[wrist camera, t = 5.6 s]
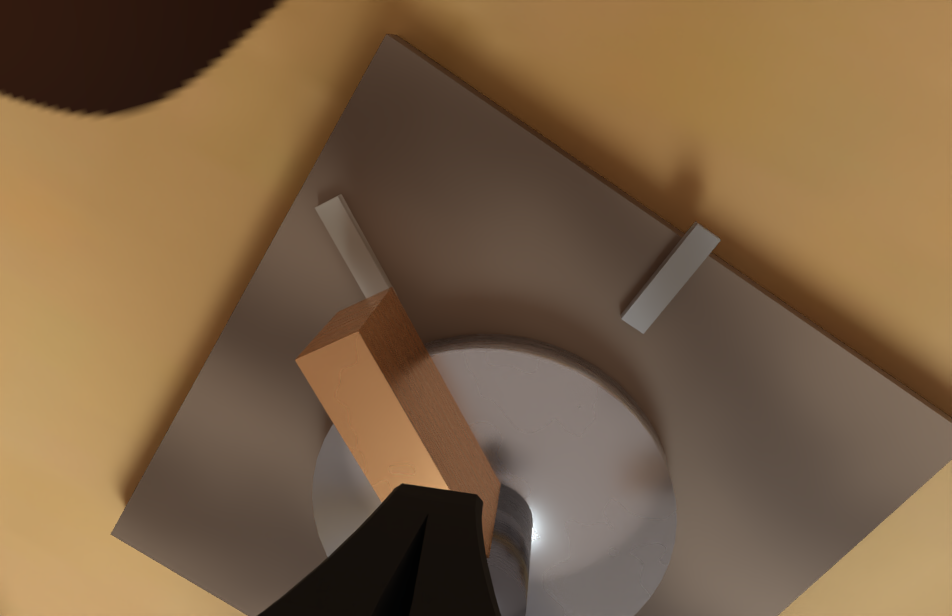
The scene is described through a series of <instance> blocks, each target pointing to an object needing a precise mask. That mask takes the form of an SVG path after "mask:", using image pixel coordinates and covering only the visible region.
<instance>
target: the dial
mask: <svg viewBox="0 0 952 616" xmlns="http://www.w3.org/2000/svg"><path fill="white" fill-rule="evenodd" d="M295 361H296V363H297V365H298V366H299V368H300V369H301V371H302V373H303V374H304V376H305V378H306V379H307V381H308V383H309V384H310V386H311V387H312V389H313V391H314V392H315V394H316V396H317V397H318V399H319V401H320V402H321V404H322V405H323V407H324V409H325V410H326V412H327V414H328V415H329V417H330V419H331V420H332V422H333V425H332V427H331V428H330V430H329V432H328V434H327V435H326V437H325V439H324V441H323V444H322V447H321V449H320V452H319V455H318V458H317V462H316V467H315V472H314V477H313V493H312V500H313V509H314V518H315V522H316V526H317V530H318V534H319V537H320V540H321V542H322V545H323V547H324V550H325V552H326V555H327V557H329V556H330V555H331V554H332V553H333V552H334V551H335V550H336V549H337V548H338V547H339V546H340V545H341V544H342V543H343V542H344V541H345V540H346V539H347V538H348V537H349V536H350V535H351V534H353V533H354V532H355V531H356V530H357V529H358V528H359V527H360V525H361V524H362V523H363V522H364V521H365V520H366V519H367V518H368V517H369V516H370V515H371V514H372V513H373V512H374V511H375V510H376V509H377V508H378V507H379V505H380V504H381V503H382V502H383V501H384V500H385V499H386V498H387V497H388V495H389V494H390V493H391V492H392V491H393V490H394V488H396V487H397V486H399V485H400V484H402V483H404V484H411V485H417V486H424V487H431V488H438V489H444V490H451V491H458V492H465V493H471V494H477V495H478V496H479V497H480V498H481V500H482V501H483V511H482V529H483V538H484V545H485V552H486V557H487V563H488V567H489V571H490V575H491V580H492V584H493V588H494V592H495V596H496V599H497V603H498V606H499V610H500V613H501V616H634V615H635V614H636V613H637V612H638V611H639V610H640V609H641V608H642V607H643V605H644V604H645V603H646V602H647V601H648V600H649V599H650V597H651V596H652V594H653V593H654V591H655V590H656V588H657V587H658V585H659V583H660V582H661V580H662V578H663V576H664V574H665V571H666V569H667V567H668V565H669V562H670V559H671V555H672V551H673V548H674V544H675V536H676V526H677V514H676V500H675V495H674V490H673V486H672V481H671V477H670V473H669V469H668V464H667V460H666V456H665V453H664V450H663V448H662V445H661V443H660V440H659V437H658V435H657V433H656V431H655V430H654V428H653V426H652V424H651V422H650V421H649V419H648V417H647V415H646V414H645V413H644V412H643V410H642V409H641V408H640V406H639V405H638V404H637V402H636V401H635V400H634V399H633V397H632V396H631V395H630V394H629V393H628V392H627V391H626V390H625V389H624V388H623V387H621V386H620V385H619V384H618V383H617V382H616V381H615V380H614V379H613V378H611V377H610V376H609V375H607V374H606V373H605V372H603V371H602V370H601V369H599V368H598V367H597V366H595V365H593V364H591V363H590V362H588V361H586V360H584V359H583V358H581V357H579V356H577V355H576V354H573V353H571V352H568V351H566V350H564V349H561V348H559V347H557V346H554V345H551V344H548V343H544V342H541V341H537V340H534V339H530V338H524V337H518V336H512V335H505V334H471V335H459V336H453V337H448V338H444V339H439V340H435V341H431V342H429V343H426V344H423V342H422V340H421V338H420V337H419V335H418V333H417V331H416V329H415V328H414V326H413V324H412V322H411V320H410V319H409V317H408V315H407V313H406V311H405V310H404V308H403V306H402V304H401V302H400V300H399V299H398V297H397V295H396V293H395V291H394V290H393V288H392V287H390V288H388V289H386V290H384V291H382V292H379V293H377V294H375V295H373V296H371V297H369V298H366V299H364V300H362V301H360V302H358V303H356V304H353V305H351V306H349V307H347V308H345V309H343V310H340V311H338V312H337V313H336V314H335V315H334V316H333V318H332V319H331V320H330V321H329V322H328V323H327V324H326V325H325V327H324V328H323V329H322V330H321V331H320V332H319V333H318V334H317V335H316V337H315V338H314V339H313V340H312V341H311V342H310V343H309V344H308V346H307V347H306V348H305V349H304V350H303V351H302V352H301V353H300V355H299V356H298V357H297V358H296V359H295Z"/></svg>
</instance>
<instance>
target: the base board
mask: <svg viewBox="0 0 952 616" xmlns="http://www.w3.org/2000/svg"><path fill="white" fill-rule="evenodd" d="M720 241H721V240H720V238H719V237H718V236H716V235H715V234H713V233H712V232H710V231H709V230H707V229H706V228H705V227H703V226H702V225H700V224H699V223H697V222H696V221H695V222H694V224H693V225H692V226H691V227H690V229H689V230H688V231H687V232H686V234H684V233H683V232H681V231H680V230H678V229H677V228H676V227H674V226H673V225H671V224H670V223H668V222H667V221H665V220H664V219H662V218H661V217H660V216H658V215H657V214H655V213H654V212H652V211H651V210H649V209H648V208H647V207H645V206H644V205H642V204H641V203H639V202H638V201H636V200H635V199H633V198H632V197H631V196H629V195H628V194H626V193H625V192H623V191H622V190H620V189H619V188H618V187H616V186H615V185H613V184H612V183H610V182H609V181H607V180H606V179H604V178H603V177H602V176H600V175H599V174H597V173H596V172H594V171H593V170H591V169H590V168H589V167H587V166H586V165H584V164H583V163H581V162H580V161H578V160H577V159H575V158H574V157H573V156H571V155H570V154H568V153H567V152H565V151H564V150H562V149H561V148H559V147H558V146H557V145H555V144H554V143H552V142H551V141H549V140H548V139H546V138H545V137H544V136H542V135H541V134H539V133H538V132H536V131H535V130H533V129H532V128H530V127H529V126H528V125H526V124H525V123H523V122H522V121H520V120H519V119H517V118H516V117H515V116H513V115H512V114H510V113H509V112H507V111H506V110H504V109H503V108H501V107H500V106H499V105H497V104H496V103H494V102H493V101H491V100H490V99H488V98H487V97H486V96H484V95H483V94H481V93H480V92H478V91H477V90H475V89H474V88H472V87H471V86H470V85H468V84H467V83H465V82H464V81H462V80H461V79H459V78H458V77H457V76H455V75H454V74H452V73H451V72H449V71H448V70H446V69H445V68H443V67H442V66H441V65H439V64H438V63H436V62H435V61H433V60H432V59H430V58H429V57H428V56H426V55H425V54H423V53H422V52H420V51H419V50H417V49H416V48H414V47H413V46H412V45H410V44H409V43H407V42H406V41H404V40H403V39H401V38H400V37H398V36H397V35H392V34H386V36H385V38H384V39H383V41H382V43H381V45H380V47H379V48H378V50H377V52H376V54H375V56H374V57H373V59H372V61H371V63H370V65H369V67H368V68H367V70H366V72H365V74H364V76H363V77H362V79H361V81H360V83H359V85H358V87H357V88H356V90H355V92H354V94H353V96H352V97H351V99H350V101H349V103H348V105H347V106H346V108H345V110H344V112H343V114H342V116H341V117H340V119H339V121H338V123H337V125H336V126H335V128H334V130H333V132H332V134H331V135H330V137H329V139H328V141H327V143H326V145H325V146H324V148H323V150H322V152H321V154H320V155H319V157H318V159H317V161H316V163H315V164H314V166H313V168H312V170H311V172H310V174H309V175H308V177H307V179H306V181H305V183H304V184H303V186H302V188H301V190H300V192H299V194H298V195H297V197H296V199H295V201H294V203H293V204H292V206H291V208H290V210H289V212H288V213H287V215H286V217H285V219H284V221H283V223H282V224H281V226H280V228H279V230H278V232H277V233H276V235H275V237H274V239H273V241H272V242H271V244H270V246H269V248H268V250H267V252H266V253H265V255H264V257H263V259H262V261H261V262H260V264H259V266H258V268H257V270H256V271H255V273H254V275H253V277H252V279H251V281H250V282H249V284H248V286H247V288H246V290H245V291H244V293H243V295H242V297H241V299H240V301H239V302H238V304H237V306H236V308H235V310H234V311H233V313H232V315H231V317H230V319H229V320H228V322H227V324H226V326H225V328H224V330H223V331H222V333H221V335H220V337H219V339H218V340H217V342H216V344H215V346H214V348H213V349H212V351H211V353H210V355H209V357H208V359H207V360H206V362H205V364H204V366H203V368H202V369H201V371H200V373H199V375H198V377H197V378H196V380H195V382H194V384H193V386H192V388H191V389H190V391H189V393H188V395H187V397H186V398H185V400H184V402H183V404H182V406H181V408H180V409H179V411H178V413H177V415H176V417H175V418H174V420H173V422H172V424H171V426H170V427H169V429H168V431H167V433H166V435H165V437H164V438H163V440H162V442H161V444H160V446H159V447H158V449H157V451H156V453H155V455H154V456H153V458H152V460H151V462H150V464H149V466H148V467H147V469H146V471H145V473H144V475H143V476H142V478H141V480H140V482H139V484H138V485H137V487H136V489H135V491H134V493H133V495H132V496H131V498H130V500H129V502H128V504H127V505H126V507H125V509H124V511H123V513H122V515H121V516H120V518H119V520H118V522H117V524H116V525H115V527H114V529H113V531H112V533H111V535H113V536H114V537H116V538H118V539H119V540H121V541H123V542H124V543H126V544H128V545H129V546H131V547H133V548H135V549H136V550H138V551H140V552H141V553H143V554H145V555H146V556H148V557H150V558H151V559H153V560H155V561H156V562H158V563H160V564H162V565H163V566H165V567H167V568H168V569H170V570H172V571H173V572H175V573H177V574H178V575H180V576H182V577H184V578H185V579H187V580H189V581H190V582H192V583H194V584H195V585H197V586H199V587H200V588H202V589H204V590H206V591H207V592H209V593H211V594H212V595H214V596H216V597H217V598H219V599H221V600H222V601H224V602H226V603H227V604H229V605H231V606H233V607H234V608H236V609H238V610H239V611H241V612H243V613H244V614H246V615H248V616H257V615H258V614H260V613H261V612H262V611H264V610H265V609H266V608H268V607H269V606H270V605H272V604H273V603H274V602H275V601H277V600H278V599H279V598H281V597H282V596H283V595H284V594H286V593H287V592H288V591H289V590H290V589H292V588H293V587H294V586H295V585H296V584H297V583H299V582H300V581H301V580H302V579H303V578H304V577H306V576H307V575H308V574H309V573H310V572H312V571H313V570H314V569H315V568H316V567H317V566H319V565H320V564H321V563H322V562H323V561H324V560H325V559H326V558H327V555H326V552H325V550H324V547H323V545H322V542H321V540H320V537H319V534H318V530H317V526H316V522H315V518H314V509H313V500H312V493H313V477H314V472H315V467H316V462H317V458H318V455H319V452H320V449H321V447H322V444H323V441H324V439H325V437H326V435H327V434H328V432H329V430H330V428H331V427H332V425H333V422H332V420H331V419H330V417H329V415H328V414H327V412H326V410H325V409H324V407H323V405H322V404H321V402H320V401H319V399H318V397H317V396H316V394H315V392H314V391H313V389H312V387H311V386H310V384H309V383H308V381H307V379H306V378H305V376H304V374H303V373H302V371H301V369H300V368H299V366H298V365H297V363H296V361H295V359H296V358H297V357H298V356H299V355H300V353H301V352H302V351H303V350H304V349H305V348H306V347H307V346H308V344H309V343H310V342H311V341H312V340H313V339H314V338H315V337H316V335H317V334H318V333H319V332H320V331H321V330H322V329H323V328H324V327H325V325H326V324H327V323H328V322H329V321H330V320H331V319H332V318H333V316H334V315H335V314H336V313H337V312H338V311H340V310H343V309H345V308H347V307H349V306H351V305H353V304H356V303H358V302H360V301H362V300H364V299H366V298H369V297H371V296H373V295H375V294H377V293H379V292H382V291H384V290H386V289H388V288H390V287H392V288H393V290H394V291H395V293H396V295H397V297H398V299H399V300H400V302H401V304H402V306H403V308H404V310H405V311H406V313H407V315H408V317H409V319H410V320H411V322H412V324H413V326H414V328H415V329H416V331H417V333H418V335H419V337H420V338H421V340H422V342H423V344H426V343H429V342H431V341H435V340H439V339H444V338H448V337H453V336H459V335H471V334H505V335H512V336H518V337H524V338H530V339H534V340H537V341H541V342H544V343H548V344H551V345H554V346H557V347H559V348H561V349H564V350H566V351H568V352H571V353H573V354H576V355H577V356H579V357H581V358H583V359H584V360H586V361H588V362H590V363H591V364H593V365H595V366H597V367H598V368H599V369H601V370H602V371H603V372H605V373H606V374H607V375H609V376H610V377H611V378H613V379H614V380H615V381H616V382H617V383H618V384H619V385H620V386H621V387H623V388H624V389H625V390H626V391H627V392H628V393H629V394H630V395H631V396H632V397H633V399H634V400H635V401H636V402H637V404H638V405H639V406H640V408H641V409H642V410H643V412H644V413H645V414H646V415H647V417H648V419H649V421H650V422H651V424H652V426H653V428H654V430H655V431H656V433H657V435H658V437H659V440H660V443H661V445H662V448H663V450H664V453H665V456H666V460H667V464H668V469H669V473H670V477H671V481H672V486H673V490H674V495H675V500H676V514H677V526H676V536H675V544H674V548H673V551H672V555H671V559H670V562H669V565H668V567H667V569H666V571H665V574H664V576H663V578H662V580H661V582H660V583H659V585H658V587H657V588H656V590H655V591H654V593H653V594H652V596H651V597H650V599H649V600H648V601H647V602H646V603H645V604H644V605H643V607H642V608H641V609H640V610H639V611H638V612H637V613H636V614H635V615H634V616H778V615H779V614H780V613H781V612H782V611H783V610H784V609H786V608H787V607H788V606H789V605H790V604H791V603H792V602H793V601H794V600H796V599H797V598H798V597H799V596H800V595H801V594H802V593H803V592H804V591H806V590H807V589H808V588H809V587H810V586H811V585H812V584H813V583H815V582H816V581H817V580H818V579H819V578H820V577H821V576H822V575H823V574H825V573H826V572H827V571H828V570H829V569H830V568H831V567H832V566H833V565H835V564H836V563H837V562H838V561H839V560H840V559H841V558H842V557H844V556H845V555H846V554H847V553H848V552H849V551H850V550H851V549H852V548H854V547H855V546H856V545H857V544H858V543H859V542H860V541H861V540H862V539H864V538H865V537H866V536H867V535H868V534H869V533H870V532H871V531H873V530H874V529H875V528H876V527H877V526H878V525H879V524H880V523H881V522H883V521H884V520H885V519H886V518H887V517H888V516H889V515H890V514H891V513H893V512H894V511H895V510H896V509H897V508H898V507H899V506H900V505H902V504H903V503H904V502H905V501H906V500H907V499H908V498H909V497H910V496H912V495H913V494H914V493H915V492H916V491H917V490H918V489H919V488H920V487H922V486H923V485H924V484H925V483H926V482H927V481H928V480H929V479H931V478H932V477H933V476H934V475H935V474H936V473H937V472H938V471H939V470H941V469H942V468H943V467H944V466H945V465H946V464H947V463H948V462H950V461H951V460H952V418H951V417H950V416H948V415H947V414H945V413H944V412H942V411H941V410H940V409H938V408H937V407H935V406H934V405H932V404H931V403H929V402H928V401H926V400H925V399H924V398H922V397H921V396H919V395H918V394H916V393H915V392H913V391H912V390H911V389H909V388H908V387H906V386H905V385H903V384H902V383H900V382H899V381H897V380H896V379H895V378H893V377H892V376H890V375H889V374H887V373H886V372H884V371H883V370H882V369H880V368H879V367H877V366H876V365H874V364H873V363H871V362H870V361H868V360H867V359H866V358H864V357H863V356H861V355H860V354H858V353H857V352H855V351H854V350H853V349H851V348H850V347H848V346H847V345H845V344H844V343H842V342H841V341H839V340H838V339H837V338H835V337H834V336H832V335H831V334H829V333H828V332H826V331H825V330H823V329H822V328H821V327H819V326H818V325H816V324H815V323H813V322H812V321H810V320H809V319H808V318H806V317H805V316H803V315H802V314H800V313H799V312H797V311H796V310H794V309H793V308H792V307H790V306H789V305H787V304H786V303H784V302H783V301H781V300H780V299H779V298H777V297H776V296H774V295H773V294H771V293H770V292H768V291H767V290H765V289H764V288H763V287H761V286H760V285H758V284H757V283H755V282H754V281H752V280H751V279H750V278H748V277H747V276H745V275H744V274H742V273H741V272H739V271H738V270H736V269H735V268H734V267H732V266H731V265H729V264H728V263H726V262H725V261H723V260H722V259H721V258H719V257H718V256H716V255H715V254H713V253H712V250H713V249H714V248H715V247H716V246H717V244H718V243H719V242H720Z"/></svg>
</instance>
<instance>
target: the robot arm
mask: <svg viewBox="0 0 952 616" xmlns="http://www.w3.org/2000/svg"><path fill="white" fill-rule="evenodd" d="M482 511H483V501H482V500H481V498H480V497H479V496H478V495H477V494H471V493H465V492H458V491H451V490H444V489H438V488H431V487H424V486H417V485H411V484H404V483H402V484H400V485H399V486H397V487H396V488H394V490H393V491H392V492H391V493H390V494H389V495H388V497H387V498H386V499H385V500H384V501H383V502H382V503H381V504H380V505H379V507H378V508H377V509H376V510H375V511H374V512H373V513H372V514H371V515H370V516H369V517H368V518H367V519H366V520H365V521H364V522H363V523H362V524H361V525H360V527H359V528H358V529H357V530H356V531H355V532H354V533H353V534H351V535H350V536H349V537H348V538H347V539H346V540H345V541H344V542H343V543H342V544H341V545H340V546H339V547H338V548H337V549H336V550H335V551H334V552H333V553H332V554H331V555H330V556H329V557H327V558H326V559H325V560H324V561H323V562H322V563H321V564H320V565H319V566H317V567H316V568H315V569H314V570H313V571H312V572H310V573H309V574H308V575H307V576H306V577H304V578H303V579H302V580H301V581H300V582H299V583H297V584H296V585H295V586H294V587H293V588H292V589H290V590H289V591H288V592H287V593H286V594H284V595H283V596H282V597H281V598H279V599H278V600H277V601H275V602H274V603H273V604H272V605H270V606H269V607H268V608H266V609H265V610H264V611H262V612H261V613H260V614H258V615H257V616H501V613H500V610H499V606H498V603H497V599H496V596H495V592H494V588H493V584H492V580H491V575H490V571H489V567H488V563H487V557H486V552H485V545H484V538H483V529H482Z"/></svg>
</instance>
